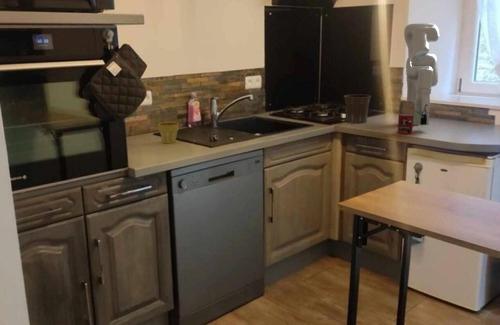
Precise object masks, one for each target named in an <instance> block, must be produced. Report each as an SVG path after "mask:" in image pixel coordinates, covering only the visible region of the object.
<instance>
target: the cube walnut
mask: <svg viewBox="0 0 500 325" xmlns="http://www.w3.org/2000/svg"><path fill="white" fill-rule="evenodd" d="M398 106H399V109H398V114H399V113H401V114H414V106H415V103H413V102H407V101H399V105H398Z"/></svg>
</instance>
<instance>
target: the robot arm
mask: <svg viewBox="0 0 500 325" xmlns="http://www.w3.org/2000/svg"><path fill="white" fill-rule="evenodd" d="M403 32H404V33H403V35H404V37H403V38H404V41H405V44H406V46H407V52H408V54H407V56H408V57H407V59H406V63H405V74H406V88H407V90H406V91H407V93H406V102H413V103H415V106H414V113H419V112H421V113H422V117H421V125H420V126H427V125H426V124H427V116H428V114H430V112H429V111H430V106H431V105H430V102H431V101H430V100H431V98H430V97H431V94H432V88H433V87H435V86H437V84H438V81H439V74H438V72H439V70H438V59H437V58H438V57H437V56H436V55H435V54H433V53H429V52H430V48H429V47H430V46H429V43H430V42H431V43H433V42H434V43H435V42H438V40H439V37H440V31H439V28H438V26H437V25H436V24H434V23H410V24H406V26H405V27H404V31H403ZM423 113H424V115H423ZM413 126H417V125H416V124H414V116H413Z"/></svg>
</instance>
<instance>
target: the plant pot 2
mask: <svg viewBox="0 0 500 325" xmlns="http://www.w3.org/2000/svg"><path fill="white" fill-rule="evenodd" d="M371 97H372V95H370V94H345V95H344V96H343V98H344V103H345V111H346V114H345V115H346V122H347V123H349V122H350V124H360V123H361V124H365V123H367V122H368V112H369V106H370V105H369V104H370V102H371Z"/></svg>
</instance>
